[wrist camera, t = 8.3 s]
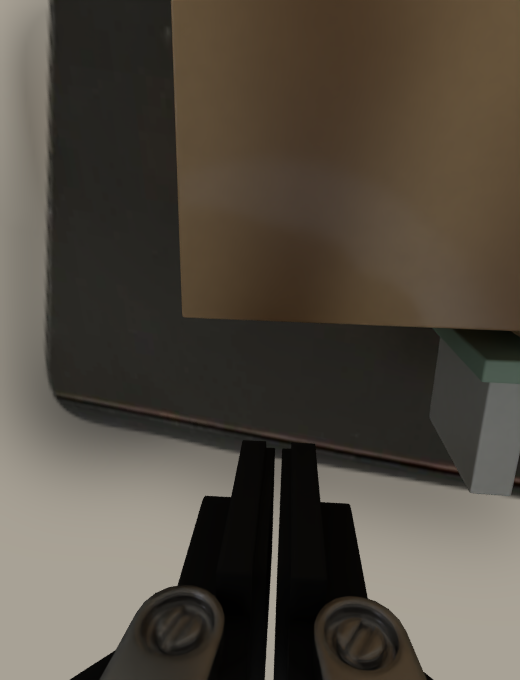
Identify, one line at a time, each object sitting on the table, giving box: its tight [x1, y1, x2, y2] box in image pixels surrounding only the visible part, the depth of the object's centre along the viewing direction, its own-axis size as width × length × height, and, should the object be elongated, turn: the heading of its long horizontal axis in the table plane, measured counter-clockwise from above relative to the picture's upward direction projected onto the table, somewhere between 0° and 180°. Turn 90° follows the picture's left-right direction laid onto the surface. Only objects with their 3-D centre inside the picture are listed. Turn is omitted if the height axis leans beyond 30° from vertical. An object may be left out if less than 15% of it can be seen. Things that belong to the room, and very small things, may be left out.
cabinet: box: [171, 0, 520, 337], centre depth 14 cm, size 16×10×11 cm, turn 89°
